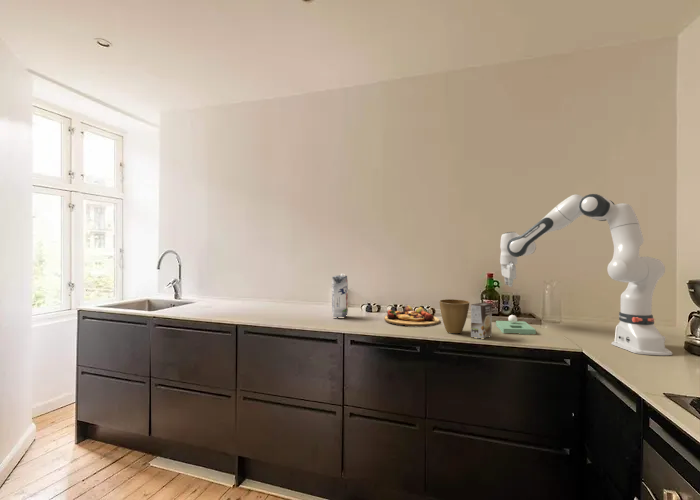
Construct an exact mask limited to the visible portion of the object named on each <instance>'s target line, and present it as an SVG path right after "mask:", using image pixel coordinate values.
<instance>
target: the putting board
mask: <svg viewBox="0 0 700 500" xmlns="http://www.w3.org/2000/svg"><path fill="white" fill-rule="evenodd" d="M495 326H496V327H497V329H499V330H500V331H501V333H502V334H503V333H520V334H519V335H530V334H536V333H537V331H536V328H534V327H533V326H531V325H530V324H529V323H527V321H521V320H519V321H518V320H517V321H516V322H515V323H510V322H509V320H495Z"/></svg>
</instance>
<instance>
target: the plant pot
mask: <svg viewBox="0 0 700 500" xmlns="http://www.w3.org/2000/svg"><path fill="white" fill-rule="evenodd" d="M438 303H439V310H440V314H441V318H442V322H443V325H444V328H445V331H447V332H450V333H460V334H462V333H461V332H463V330H464V327H465V324H466V320H467V317H468V313H469V308H470V301H468V300H464V299H453V298H452V299H451V298H450V299H449V298H447V299H444V298H443V299H439V302H438ZM447 332H446V333H447ZM450 333H449V334H450Z"/></svg>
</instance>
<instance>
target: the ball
mask: <svg viewBox="0 0 700 500" xmlns="http://www.w3.org/2000/svg"><path fill="white" fill-rule="evenodd" d="M507 319H508V320H507V321H509V322H510V323H515V322H516V321H518V318H517V316H516V315H515V314H514V315H513V314H511V315H509V316H508V318H507Z"/></svg>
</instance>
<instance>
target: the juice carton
mask: <svg viewBox="0 0 700 500" xmlns="http://www.w3.org/2000/svg"><path fill="white" fill-rule="evenodd" d="M348 295H349V283H348V275H346V274H345V273H340V275H334V276H332V277H331V314H332V315H331V316H332V318H333V317H345V318H346V317H347V316H348V312H349V296H348ZM346 315H347V316H346Z"/></svg>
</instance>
